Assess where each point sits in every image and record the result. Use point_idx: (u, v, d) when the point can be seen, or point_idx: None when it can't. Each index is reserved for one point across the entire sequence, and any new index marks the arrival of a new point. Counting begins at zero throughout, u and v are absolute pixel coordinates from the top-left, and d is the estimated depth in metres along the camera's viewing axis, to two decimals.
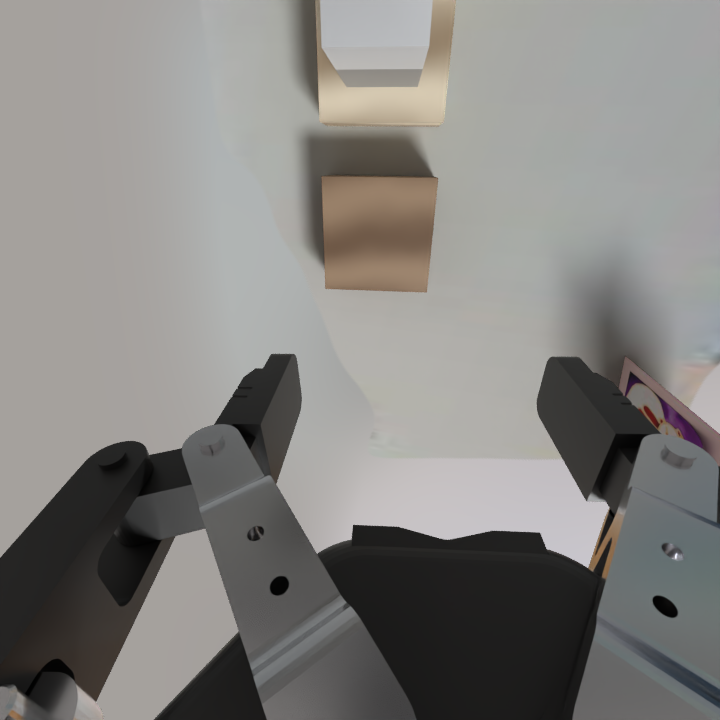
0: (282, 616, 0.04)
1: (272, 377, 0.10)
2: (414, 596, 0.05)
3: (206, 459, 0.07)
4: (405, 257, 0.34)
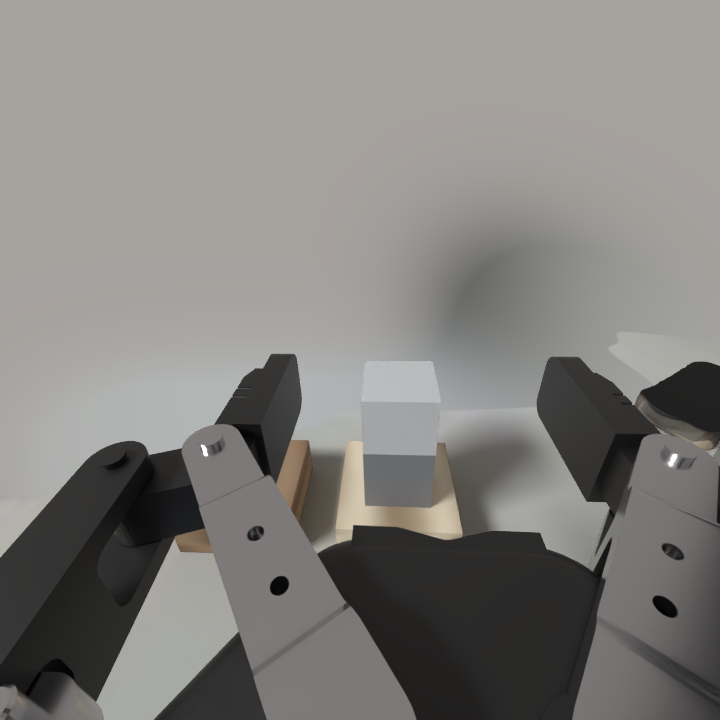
0: (283, 616, 0.04)
1: (272, 377, 0.10)
2: (414, 596, 0.05)
3: (206, 459, 0.07)
4: None
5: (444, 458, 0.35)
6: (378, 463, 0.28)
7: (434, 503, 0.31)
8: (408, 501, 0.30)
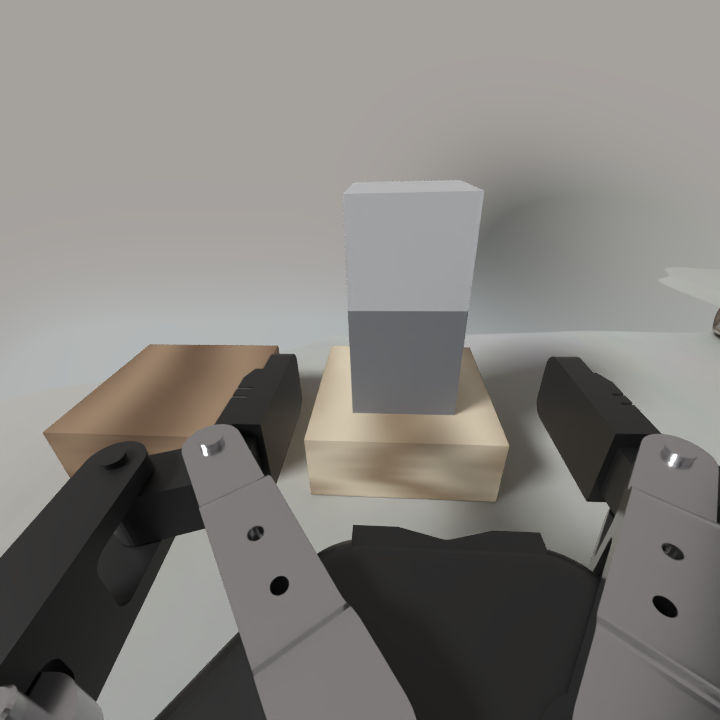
0: (282, 616, 0.04)
1: (272, 377, 0.10)
2: (414, 596, 0.05)
3: (206, 459, 0.07)
4: (128, 407, 0.21)
5: (470, 362, 0.24)
6: (373, 330, 0.17)
7: (460, 409, 0.20)
8: (420, 403, 0.19)
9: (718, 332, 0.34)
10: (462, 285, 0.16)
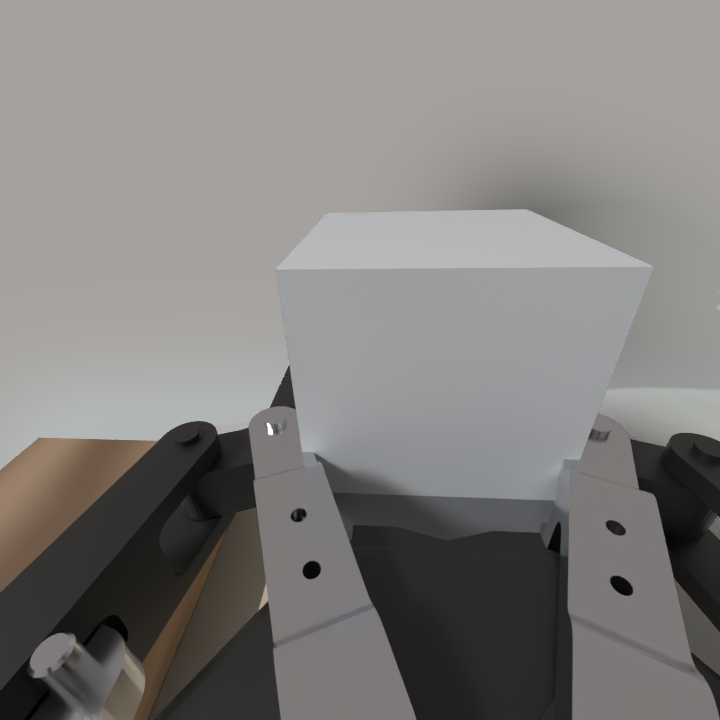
0: (308, 600, 0.05)
1: None
2: (414, 596, 0.05)
3: (274, 437, 0.08)
4: None
5: None
6: (362, 521, 0.09)
7: None
8: None
9: None
10: (559, 458, 0.07)
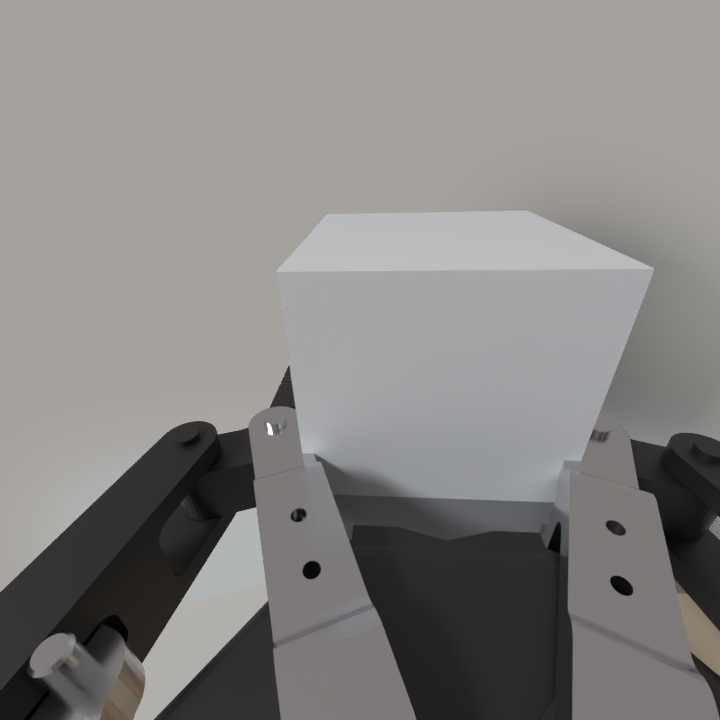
0: (309, 601, 0.05)
1: None
2: (414, 596, 0.05)
3: (274, 437, 0.08)
4: None
5: None
6: (362, 523, 0.08)
7: None
8: None
9: None
10: (559, 460, 0.07)
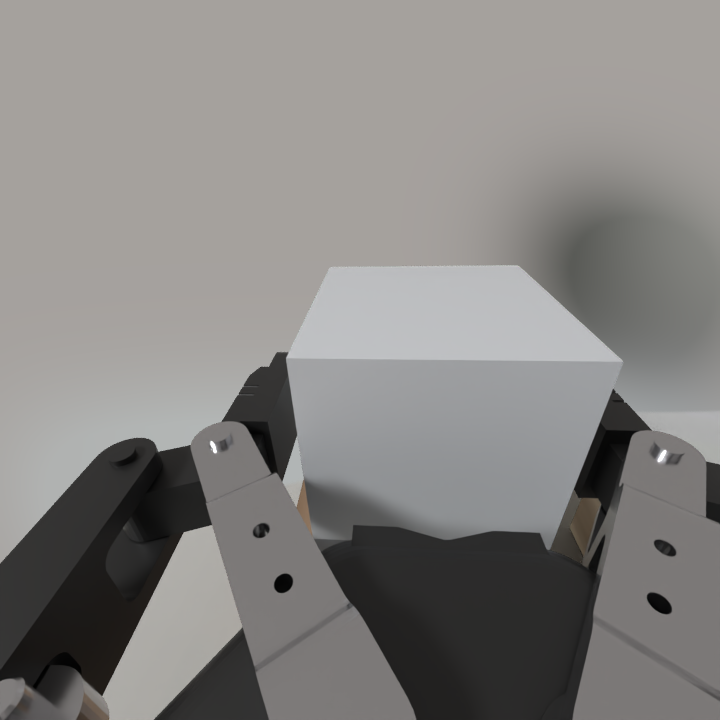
0: (286, 614, 0.04)
1: (278, 375, 0.10)
2: (414, 596, 0.05)
3: (215, 456, 0.07)
4: None
5: None
6: None
7: None
8: None
9: None
10: (544, 514, 0.08)
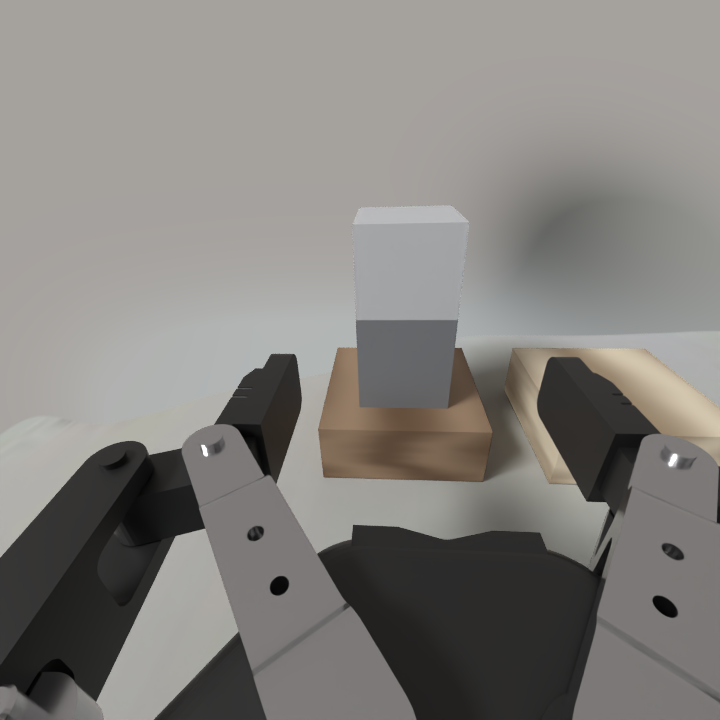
0: (283, 617, 0.04)
1: (272, 377, 0.10)
2: (414, 596, 0.05)
3: (206, 459, 0.07)
4: None
5: (657, 362, 0.26)
6: (377, 336, 0.20)
7: (686, 406, 0.22)
8: (418, 398, 0.22)
9: None
10: (452, 298, 0.19)
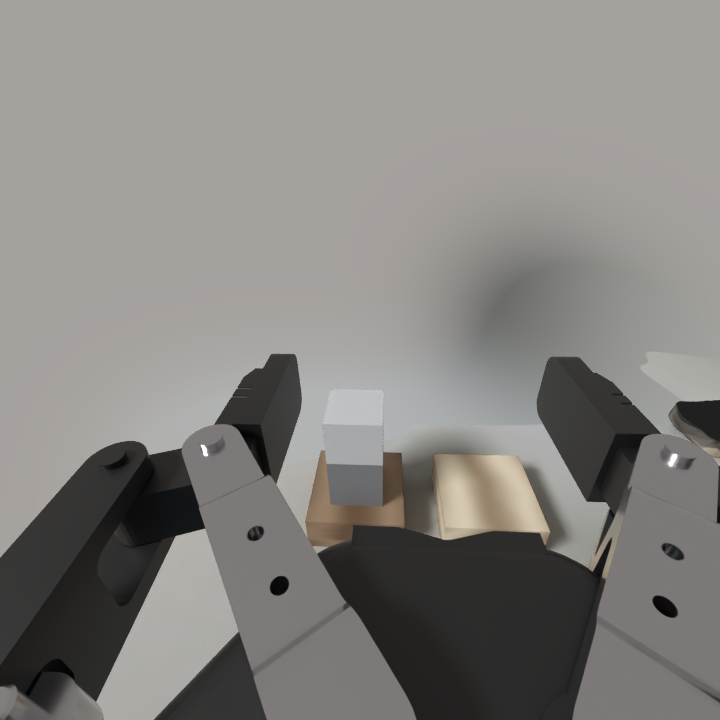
0: (283, 616, 0.04)
1: (272, 377, 0.10)
2: (414, 596, 0.05)
3: (206, 459, 0.07)
4: None
5: (521, 469, 0.42)
6: (338, 471, 0.36)
7: (522, 507, 0.38)
8: (364, 501, 0.38)
9: (670, 419, 0.53)
10: (378, 456, 0.35)
